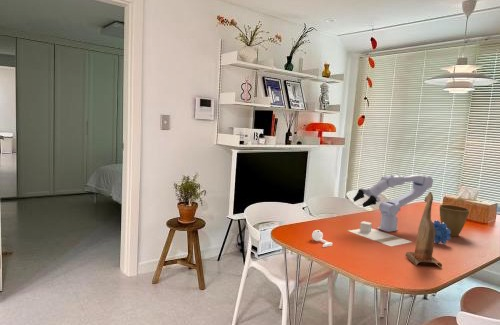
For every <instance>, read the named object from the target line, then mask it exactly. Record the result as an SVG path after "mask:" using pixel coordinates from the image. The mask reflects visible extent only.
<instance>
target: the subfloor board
mask: <svg viewBox="0 0 500 325" xmlns="http://www.w3.org/2000/svg"><path fill="white" fill-rule="evenodd" d="M348 232H350V233H352V234H356V235H357V236H361V237H362V238H366V239H369V240H371V241H374V242H377V243H380V244H383V245H385V246H388V247H395V246H401V245H405V244H410V243H412V241H411V240H408V239H405V238H401V237H400V236H399V237H398V236H396V235H393V234H391V233H388V232H385V231H384V232H383V231H382V230H379V229H374V228H372V227H371V232H370V233H365V232H360V228H357V229H348Z"/></svg>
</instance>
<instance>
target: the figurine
mask: <svg viewBox="0 0 500 325" xmlns="http://www.w3.org/2000/svg"><path fill="white" fill-rule="evenodd" d="M311 237H312V239H313V240H314V241H316V242H322V243H323V244H322V247H323V248H326V247H332V246H333V242H331V241H330V242H329V241H328V240H325V239H323V238H324V233H323V232H322V230H319V229H316V230H313V232H312V234H311Z"/></svg>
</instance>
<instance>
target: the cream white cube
mask: <svg viewBox="0 0 500 325" xmlns="http://www.w3.org/2000/svg"><path fill="white" fill-rule="evenodd" d="M372 224H373V223H372V222H369V221H364V220H363V221H361V222H360V226H359V229H360V232H365V233H370V232H371V228H372Z"/></svg>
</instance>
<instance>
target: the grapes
mask: <svg viewBox="0 0 500 325" xmlns="http://www.w3.org/2000/svg"><path fill="white" fill-rule="evenodd" d="M432 223H433V225H434V228H435V240H434V243H436V244H439V243H441V244H443V245H445V244H447V241H450V240H451V239H452V238H451V237H452V236H450V235H449V234H451V231H450V229H448V228H447V225H446V224H445V223H441V221H440V220H437V219H436V220H434V222H433V221H432Z"/></svg>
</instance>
